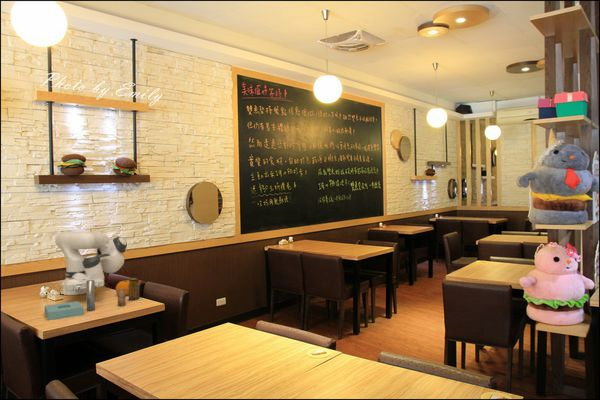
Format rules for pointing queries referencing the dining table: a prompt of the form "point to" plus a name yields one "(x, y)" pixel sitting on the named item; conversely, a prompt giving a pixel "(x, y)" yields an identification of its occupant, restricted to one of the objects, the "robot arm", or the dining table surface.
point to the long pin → (90, 295)
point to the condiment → (133, 289)
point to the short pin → (121, 297)
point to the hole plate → (63, 310)
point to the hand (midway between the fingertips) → (87, 286)
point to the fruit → (123, 286)
